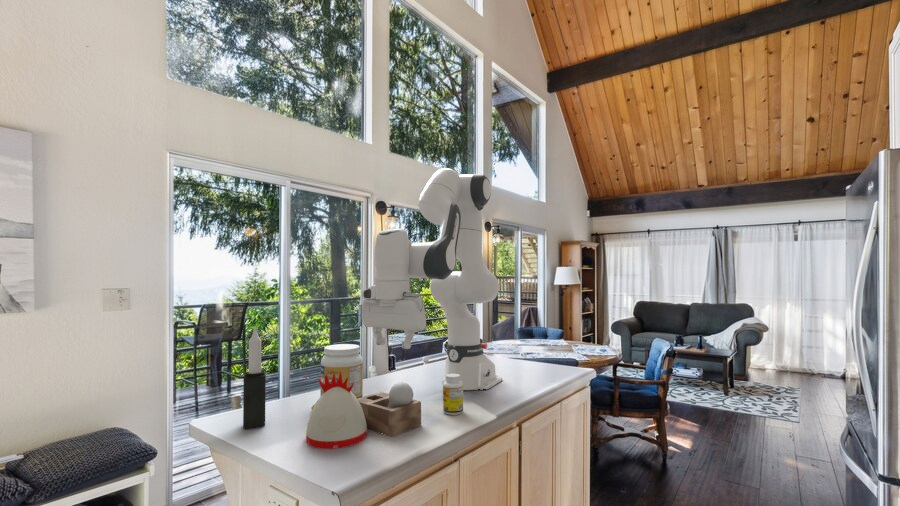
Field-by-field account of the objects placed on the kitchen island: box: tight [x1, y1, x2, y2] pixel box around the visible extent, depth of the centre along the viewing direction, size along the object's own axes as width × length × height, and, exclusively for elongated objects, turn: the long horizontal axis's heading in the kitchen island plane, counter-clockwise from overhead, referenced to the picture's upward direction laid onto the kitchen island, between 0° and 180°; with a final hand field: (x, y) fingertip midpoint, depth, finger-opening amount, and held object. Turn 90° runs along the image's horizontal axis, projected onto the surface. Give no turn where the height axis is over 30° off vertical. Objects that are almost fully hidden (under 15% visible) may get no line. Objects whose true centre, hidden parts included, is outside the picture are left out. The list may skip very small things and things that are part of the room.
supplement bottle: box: [442, 374, 464, 416], centre depth 122 cm, size 6×6×10 cm
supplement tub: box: [320, 343, 364, 398], centre depth 130 cm, size 12×12×17 cm
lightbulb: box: [388, 382, 414, 409], centre depth 111 cm, size 6×6×11 cm
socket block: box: [357, 391, 422, 438], centre depth 112 cm, size 10×15×6 cm, turn 51°
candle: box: [242, 326, 267, 430], centre depth 113 cm, size 5×5×25 cm
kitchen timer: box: [305, 373, 368, 450], centre depth 104 cm, size 14×14×15 cm
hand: (393, 346), depth 112 cm, fingers open, 8 cm apart
